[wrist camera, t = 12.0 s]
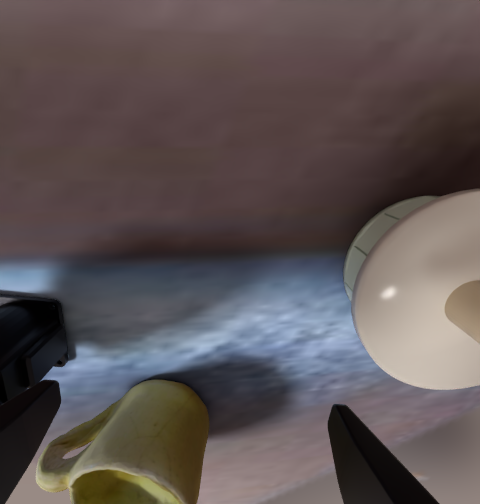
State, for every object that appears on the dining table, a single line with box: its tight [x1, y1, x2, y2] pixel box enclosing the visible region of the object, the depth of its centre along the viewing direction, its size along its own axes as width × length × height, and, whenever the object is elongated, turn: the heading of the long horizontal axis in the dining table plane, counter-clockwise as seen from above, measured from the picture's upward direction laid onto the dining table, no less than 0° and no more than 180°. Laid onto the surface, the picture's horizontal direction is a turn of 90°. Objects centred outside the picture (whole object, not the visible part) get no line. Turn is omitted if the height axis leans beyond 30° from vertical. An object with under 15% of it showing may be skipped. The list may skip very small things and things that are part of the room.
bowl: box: [343, 196, 440, 302], centre depth 19 cm, size 11×11×4 cm
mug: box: [36, 380, 209, 504], centre depth 23 cm, size 12×10×10 cm
